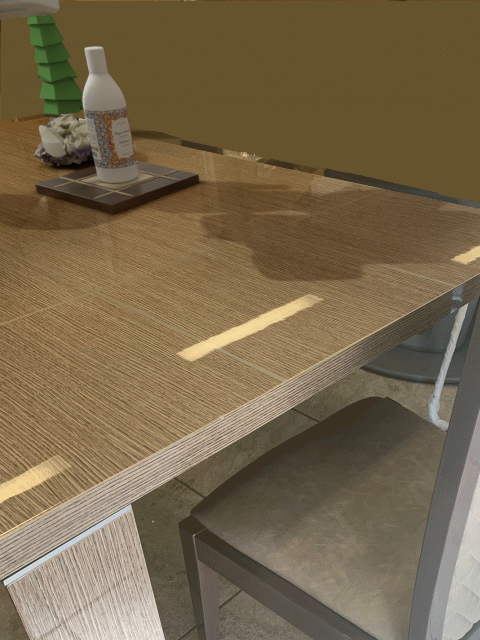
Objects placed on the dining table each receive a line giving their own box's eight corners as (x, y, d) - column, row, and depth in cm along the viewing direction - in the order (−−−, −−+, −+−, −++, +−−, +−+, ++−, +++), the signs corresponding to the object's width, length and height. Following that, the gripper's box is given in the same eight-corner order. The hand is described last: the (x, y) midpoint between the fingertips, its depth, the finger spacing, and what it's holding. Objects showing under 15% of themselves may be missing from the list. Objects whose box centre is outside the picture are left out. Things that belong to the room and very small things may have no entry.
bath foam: (116, 186, 109) (90, 52, 97) (90, 179, 112) (61, 48, 100) (147, 176, 114) (125, 46, 101) (120, 170, 117) (97, 43, 105)
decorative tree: (39, 137, 143) (-3, -27, 125) (67, 128, 150) (31, -29, 132) (74, 141, 140) (37, -27, 122) (101, 131, 147) (70, -29, 129)
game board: (36, 192, 112) (34, 183, 111) (124, 165, 125) (122, 156, 124) (113, 214, 103) (111, 204, 102) (199, 182, 116) (198, 173, 115)
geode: (66, 201, 124) (130, 171, 130) (55, 160, 116) (124, 130, 122) (17, 154, 129) (81, 127, 135) (3, 111, 120) (72, 84, 127)
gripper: (20, -52, 74) (73, -23, 87) (-140, -31, 77) (-65, -6, 89) (33, 12, 77) (83, 31, 89) (-122, 30, 79) (-52, 46, 92)
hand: (8, 13), depth 89 cm, fingers open, 8 cm apart
